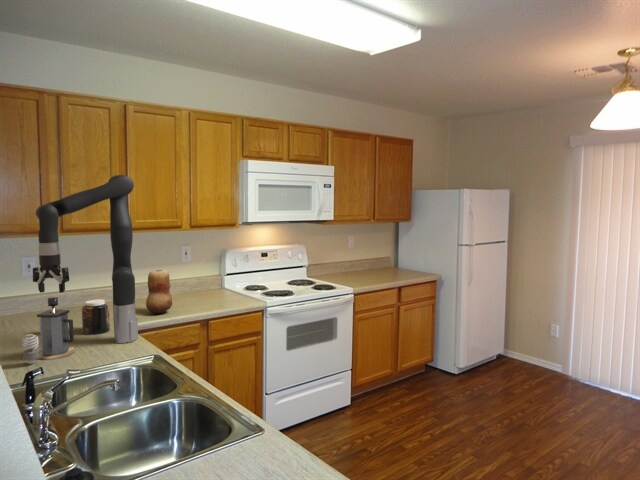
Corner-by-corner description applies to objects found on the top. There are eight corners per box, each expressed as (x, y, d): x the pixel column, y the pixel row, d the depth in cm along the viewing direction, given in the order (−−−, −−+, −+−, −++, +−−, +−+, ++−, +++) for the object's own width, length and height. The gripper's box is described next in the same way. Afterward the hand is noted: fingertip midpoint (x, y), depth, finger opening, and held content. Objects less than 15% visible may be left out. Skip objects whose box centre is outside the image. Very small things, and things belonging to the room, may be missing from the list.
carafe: (80, 348, 195) (78, 309, 194) (66, 356, 186) (64, 315, 184) (52, 347, 196) (50, 309, 194) (36, 355, 187) (34, 315, 185)
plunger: (68, 342, 194) (65, 296, 192) (57, 348, 187) (55, 300, 185) (52, 342, 194) (50, 296, 192) (41, 347, 188) (39, 299, 186)
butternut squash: (149, 317, 248) (148, 272, 246) (144, 312, 259) (142, 268, 257) (175, 314, 256) (174, 270, 253) (169, 309, 267) (167, 266, 264)
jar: (95, 336, 215) (94, 305, 214) (77, 333, 219) (75, 302, 218) (115, 329, 226) (113, 299, 225) (96, 326, 230) (95, 297, 229)
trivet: (81, 348, 197) (81, 347, 197) (60, 360, 184) (60, 358, 184) (50, 347, 199) (50, 346, 198) (27, 359, 185) (27, 357, 185)
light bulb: (19, 365, 178) (17, 335, 177) (33, 360, 183) (31, 331, 182) (29, 367, 176) (28, 337, 175) (43, 362, 181) (41, 333, 180)
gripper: (71, 252, 190) (73, 290, 192) (39, 252, 191) (41, 290, 193) (60, 254, 183) (62, 294, 184) (26, 254, 184) (29, 294, 185)
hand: (51, 292), depth 188 cm, fingers open, 8 cm apart
